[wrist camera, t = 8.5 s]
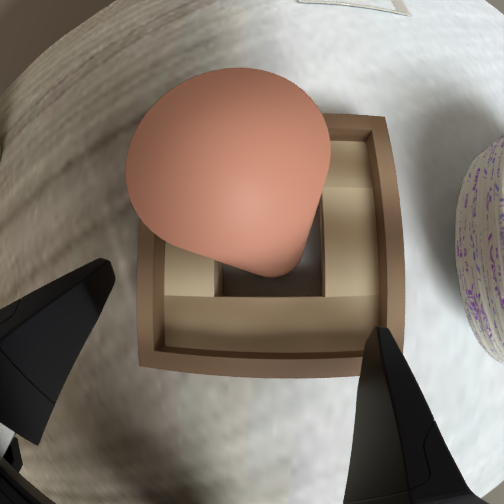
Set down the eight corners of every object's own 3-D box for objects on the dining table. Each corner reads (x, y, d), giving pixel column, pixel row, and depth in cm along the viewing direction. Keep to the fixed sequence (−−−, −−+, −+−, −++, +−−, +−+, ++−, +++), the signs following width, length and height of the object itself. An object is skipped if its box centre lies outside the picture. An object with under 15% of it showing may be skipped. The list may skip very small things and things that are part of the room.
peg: (277, 290, 17) (236, 303, 4) (228, 252, 18) (94, 178, 5) (315, 240, 17) (369, 126, 4) (266, 204, 18) (212, 48, 5)
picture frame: (381, 356, 16) (401, 371, 12) (164, 353, 18) (139, 365, 14) (371, 143, 17) (384, 116, 14) (171, 151, 19) (151, 128, 16)
